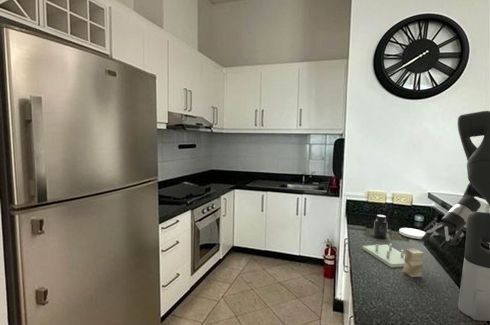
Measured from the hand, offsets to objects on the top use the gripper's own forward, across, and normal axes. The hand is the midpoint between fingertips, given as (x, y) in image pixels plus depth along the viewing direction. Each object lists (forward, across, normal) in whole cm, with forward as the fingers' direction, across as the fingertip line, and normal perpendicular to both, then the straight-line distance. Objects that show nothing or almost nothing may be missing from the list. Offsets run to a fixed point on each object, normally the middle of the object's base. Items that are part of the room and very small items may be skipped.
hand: (431, 245), depth 119 cm
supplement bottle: (+3, -41, +14) cm, 43 cm away
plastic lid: (-12, -40, +30) cm, 51 cm away
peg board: (+13, -16, +4) cm, 21 cm away
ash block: (+14, 0, +3) cm, 15 cm away
